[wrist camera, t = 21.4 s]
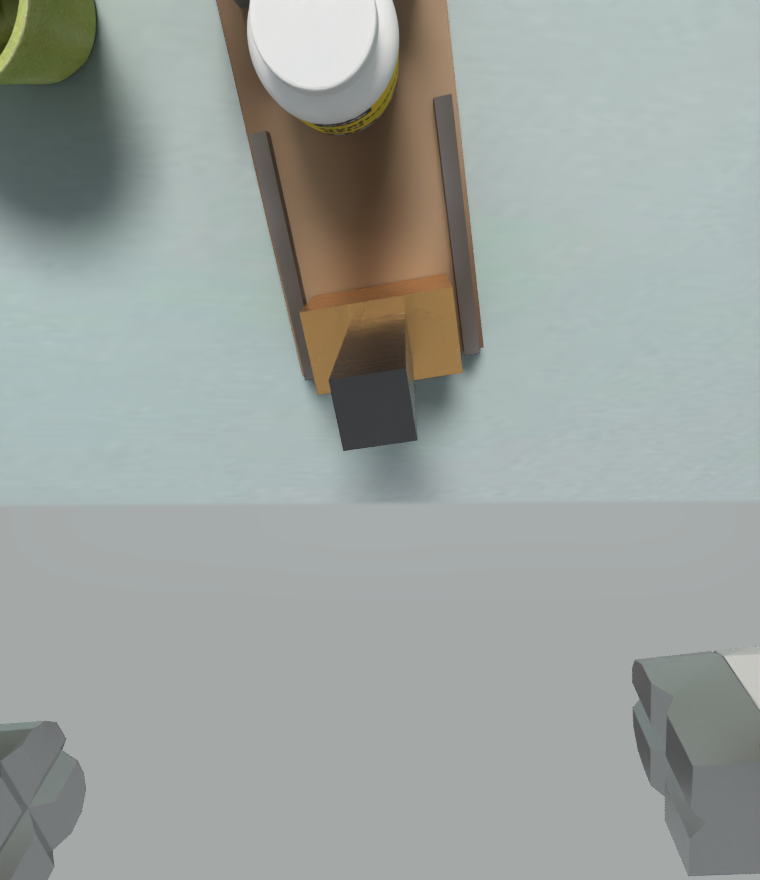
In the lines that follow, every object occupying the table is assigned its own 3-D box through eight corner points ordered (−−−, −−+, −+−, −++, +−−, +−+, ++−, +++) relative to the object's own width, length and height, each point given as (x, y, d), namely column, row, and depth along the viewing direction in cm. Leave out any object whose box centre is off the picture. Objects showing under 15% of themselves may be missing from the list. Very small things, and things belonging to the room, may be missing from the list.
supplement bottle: (330, 162, 29) (297, 152, 20) (257, 56, 27) (185, -7, 18) (423, 86, 28) (432, 38, 19) (352, -31, 26) (325, -145, 17)
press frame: (306, 368, 35) (282, 414, 28) (210, -57, 27) (144, -140, 20) (480, 340, 34) (500, 380, 27) (431, -109, 26) (441, -215, 19)
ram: (328, 368, 33) (283, 479, 21) (312, 295, 31) (254, 368, 19) (455, 349, 32) (487, 451, 20) (445, 273, 31) (474, 333, 18)
